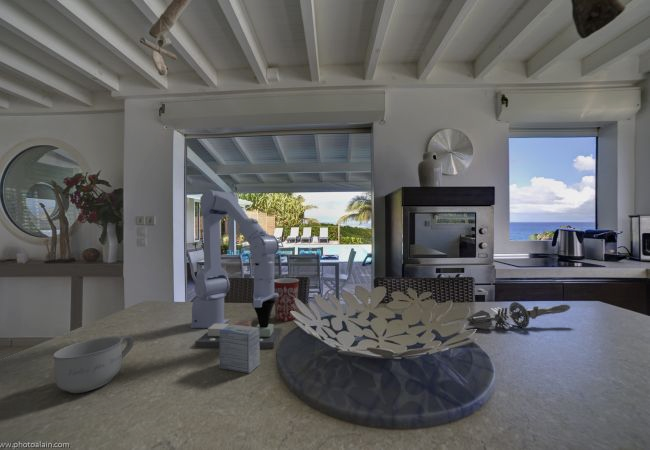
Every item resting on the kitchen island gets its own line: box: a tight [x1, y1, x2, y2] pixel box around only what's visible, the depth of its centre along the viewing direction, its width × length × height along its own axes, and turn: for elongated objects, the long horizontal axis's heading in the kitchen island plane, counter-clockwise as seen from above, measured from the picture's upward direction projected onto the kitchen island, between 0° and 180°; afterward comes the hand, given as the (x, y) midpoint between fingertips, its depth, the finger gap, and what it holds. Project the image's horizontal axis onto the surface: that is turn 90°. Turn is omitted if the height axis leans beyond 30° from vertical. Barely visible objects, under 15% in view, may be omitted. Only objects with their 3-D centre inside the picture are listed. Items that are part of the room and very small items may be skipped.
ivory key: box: [207, 323, 230, 336], centre depth 81 cm, size 4×4×2 cm
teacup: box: [52, 334, 135, 394], centre depth 59 cm, size 14×11×8 cm
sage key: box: [255, 323, 275, 337], centre depth 81 cm, size 4×4×2 cm
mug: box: [274, 277, 300, 322], centre depth 103 cm, size 13×9×14 cm
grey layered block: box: [219, 324, 261, 374], centre depth 65 cm, size 8×4×9 cm, turn 71°
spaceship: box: [466, 301, 571, 330], centre depth 91 cm, size 8×35×8 cm
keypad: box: [194, 327, 283, 349], centre depth 81 cm, size 21×11×2 cm, turn 88°
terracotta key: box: [231, 320, 252, 327], centre depth 81 cm, size 4×4×2 cm
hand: (264, 326), depth 81 cm, fingers closed, pressing on sage key
